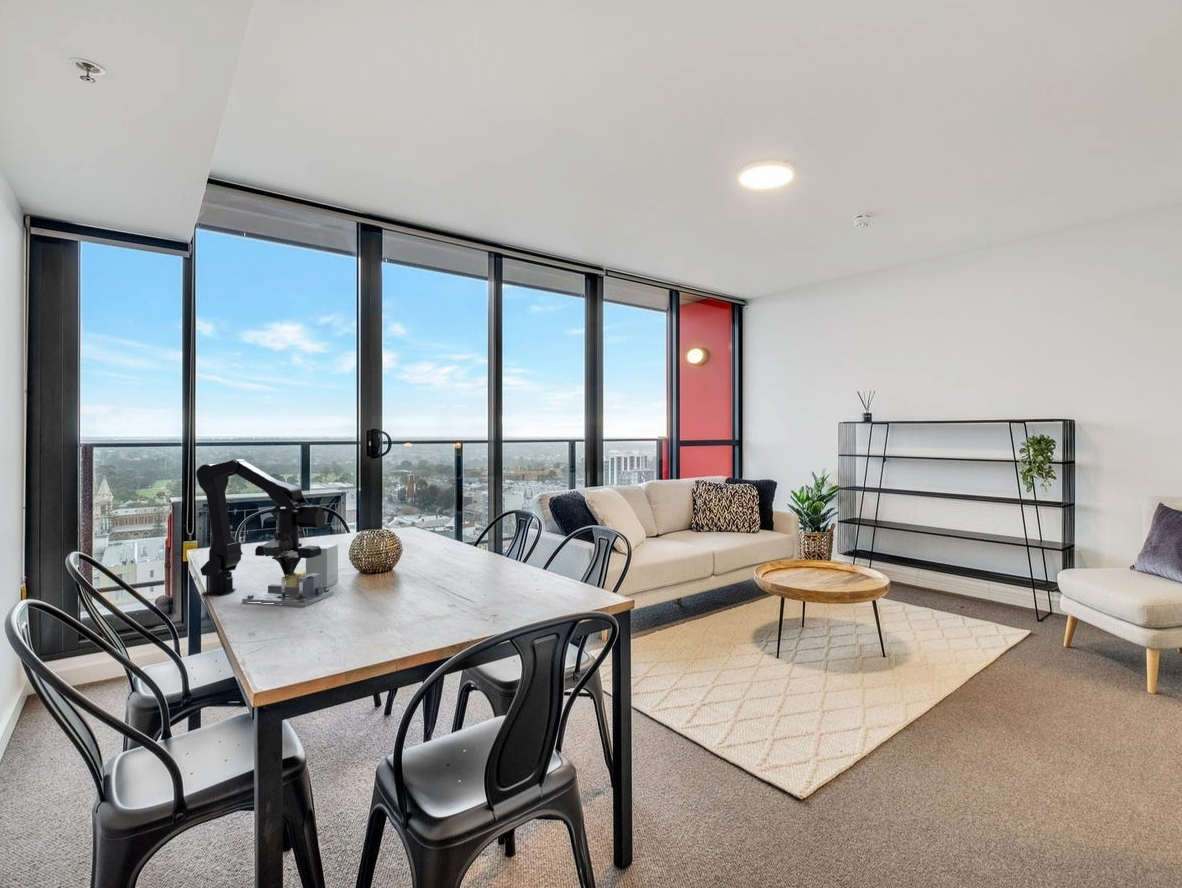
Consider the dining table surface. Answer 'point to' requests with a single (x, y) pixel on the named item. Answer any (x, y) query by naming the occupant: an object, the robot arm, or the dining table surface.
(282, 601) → the bolt plate
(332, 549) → the supplement box
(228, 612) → the dining table surface
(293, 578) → the yellow chamfered block
